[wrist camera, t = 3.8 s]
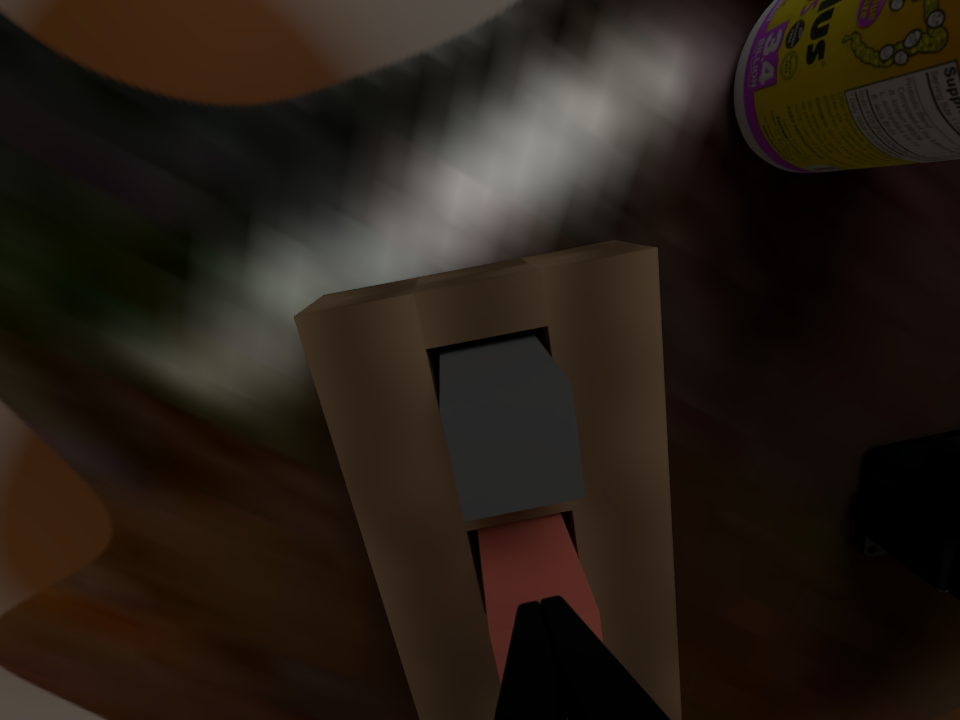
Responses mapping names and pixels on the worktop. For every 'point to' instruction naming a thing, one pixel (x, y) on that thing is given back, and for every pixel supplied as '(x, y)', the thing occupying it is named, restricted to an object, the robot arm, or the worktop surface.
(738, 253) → the worktop surface
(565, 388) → the gray rectangular block
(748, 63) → the supplement bottle
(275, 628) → the worktop surface
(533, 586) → the plug red
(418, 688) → the block
